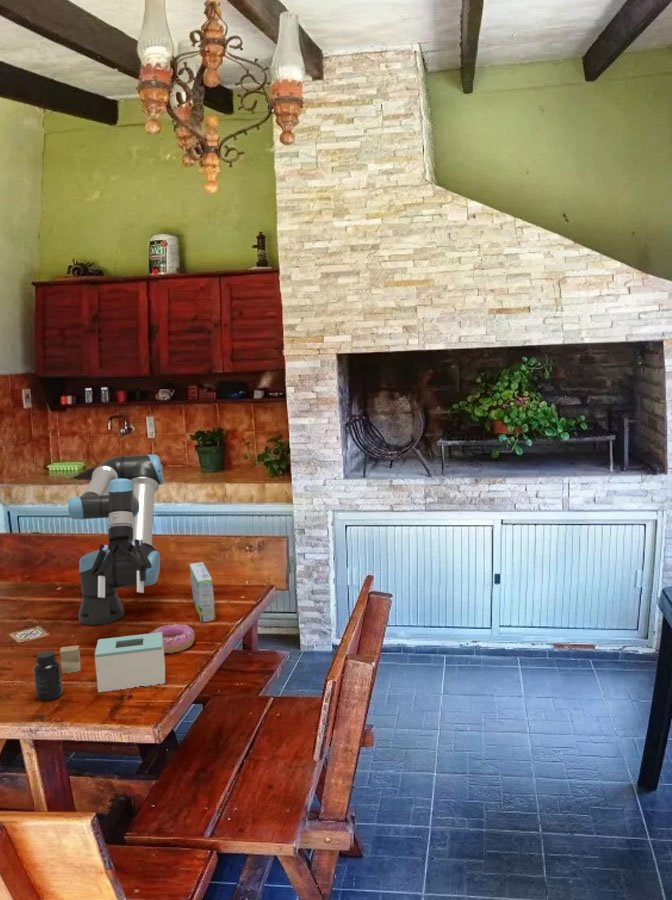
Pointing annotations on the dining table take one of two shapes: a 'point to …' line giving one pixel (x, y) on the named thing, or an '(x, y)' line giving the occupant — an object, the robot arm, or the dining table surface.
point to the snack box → (202, 592)
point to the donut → (176, 637)
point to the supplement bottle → (47, 676)
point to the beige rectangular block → (70, 659)
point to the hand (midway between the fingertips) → (120, 595)
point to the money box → (130, 662)
